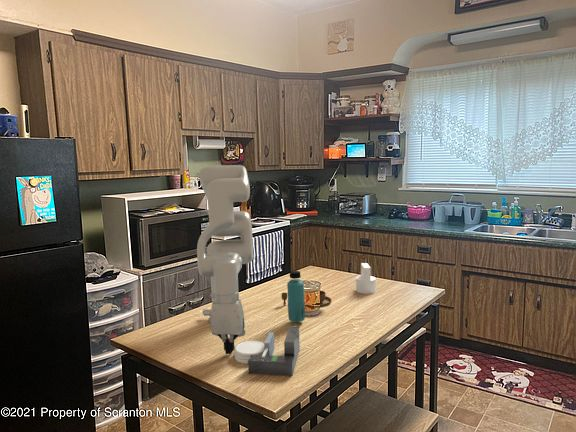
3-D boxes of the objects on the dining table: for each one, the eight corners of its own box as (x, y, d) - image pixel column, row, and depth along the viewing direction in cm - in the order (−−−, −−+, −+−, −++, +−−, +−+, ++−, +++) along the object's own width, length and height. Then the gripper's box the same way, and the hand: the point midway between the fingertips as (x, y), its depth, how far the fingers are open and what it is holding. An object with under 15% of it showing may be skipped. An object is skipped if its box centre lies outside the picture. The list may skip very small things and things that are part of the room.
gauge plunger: (261, 369, 128) (260, 351, 127) (269, 349, 141) (269, 332, 140) (266, 369, 128) (265, 351, 127) (274, 349, 141) (273, 332, 140)
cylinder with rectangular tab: (377, 293, 196) (377, 267, 195) (357, 293, 197) (357, 268, 195) (373, 287, 205) (373, 262, 204) (354, 287, 205) (354, 263, 204)
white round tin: (236, 366, 132) (235, 355, 132) (233, 352, 142) (232, 342, 141) (268, 362, 134) (268, 351, 134) (263, 348, 144) (263, 338, 143)
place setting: (326, 311, 177) (326, 298, 176) (280, 308, 183) (279, 294, 182) (335, 298, 193) (334, 285, 192) (292, 295, 199) (291, 282, 198)
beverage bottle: (303, 326, 161) (302, 274, 158) (286, 325, 162) (284, 273, 160) (306, 319, 167) (305, 269, 165) (289, 319, 169) (288, 269, 166)
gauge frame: (248, 373, 127) (247, 347, 126) (260, 348, 144) (259, 325, 143) (292, 375, 125) (291, 349, 124) (299, 349, 142) (299, 326, 141)
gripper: (199, 300, 134) (203, 356, 137) (246, 301, 132) (249, 359, 134) (208, 293, 141) (211, 346, 144) (252, 294, 139) (254, 348, 141)
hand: (229, 352), depth 139 cm, fingers closed
